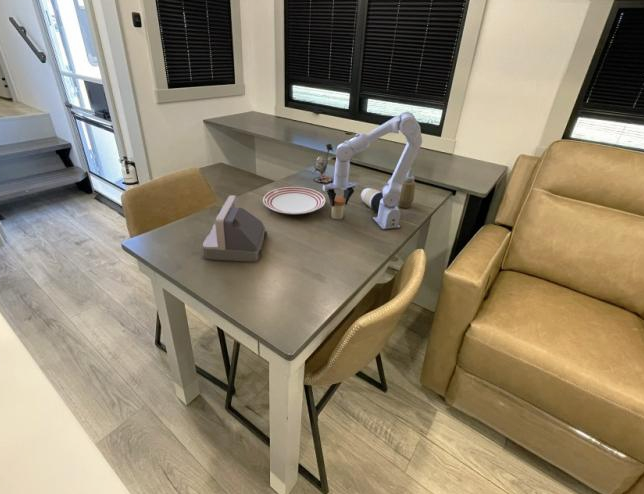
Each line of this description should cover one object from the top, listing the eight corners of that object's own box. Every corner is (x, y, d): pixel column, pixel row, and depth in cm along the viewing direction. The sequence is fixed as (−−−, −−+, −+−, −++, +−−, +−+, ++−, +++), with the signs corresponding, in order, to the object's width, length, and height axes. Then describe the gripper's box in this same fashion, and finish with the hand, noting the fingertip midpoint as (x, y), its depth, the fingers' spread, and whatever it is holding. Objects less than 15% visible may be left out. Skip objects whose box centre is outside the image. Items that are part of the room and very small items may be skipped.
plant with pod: (319, 175, 180) (321, 138, 170) (334, 181, 173) (338, 144, 163) (308, 178, 175) (310, 141, 165) (324, 185, 168) (326, 146, 158)
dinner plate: (252, 213, 137) (252, 206, 135) (276, 188, 161) (276, 182, 159) (316, 224, 132) (316, 217, 131) (330, 197, 156) (331, 191, 154)
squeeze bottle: (410, 202, 157) (418, 166, 148) (413, 210, 150) (421, 172, 141) (393, 200, 157) (400, 164, 148) (395, 208, 150) (402, 171, 141)
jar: (345, 218, 138) (346, 202, 135) (333, 219, 137) (335, 204, 133) (340, 212, 143) (342, 197, 139) (329, 214, 141) (330, 198, 137)
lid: (330, 199, 139) (330, 196, 138) (343, 199, 140) (343, 195, 139) (333, 205, 134) (333, 202, 133) (346, 205, 135) (347, 201, 134)
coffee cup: (372, 206, 155) (387, 216, 141) (355, 201, 151) (370, 211, 138) (379, 188, 153) (395, 196, 139) (362, 183, 149) (378, 191, 136)
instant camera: (222, 226, 127) (218, 190, 119) (274, 233, 124) (274, 197, 117) (195, 257, 108) (189, 217, 101) (255, 267, 106) (254, 227, 99)
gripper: (328, 179, 125) (326, 211, 131) (362, 176, 130) (358, 206, 136) (321, 172, 130) (319, 203, 137) (354, 170, 135) (350, 199, 142)
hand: (338, 204), depth 137 cm, fingers closed on lid, 5 cm apart
